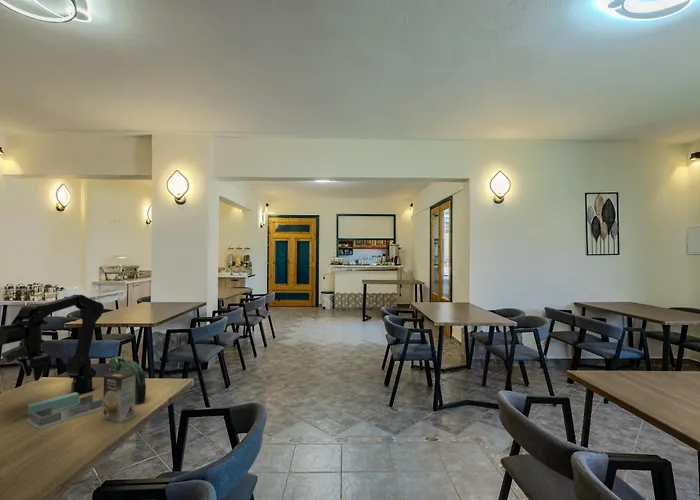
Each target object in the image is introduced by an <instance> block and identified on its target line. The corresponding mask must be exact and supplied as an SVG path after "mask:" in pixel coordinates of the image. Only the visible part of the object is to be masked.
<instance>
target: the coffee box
mask: <svg viewBox="0 0 700 500" xmlns="http://www.w3.org/2000/svg"><path fill="white" fill-rule="evenodd" d="M135 382H136V373H130V372H125V371H116V372H113V373H112V372H110V373H107V374H105V375H103V395H102V396H103V397H102V398H103V399H102V400H103V409H102V419H103V420H105V421H106V420H107V421H111V422H115V423H119V424H120V423H122V422H125V421H127V420H129V419H131V418H132V417H135V415H136V414H135V413H136V404H135Z"/></svg>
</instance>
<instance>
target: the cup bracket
mask: <svg viewBox="0 0 700 500" xmlns="http://www.w3.org/2000/svg"><path fill="white" fill-rule="evenodd" d="M93 397H94V396H93V395H92V394H90V395H88V396H84V397H81V398H80V397H79V403H78V404H74V405H71V406H67V407H64V408H60V409H57V410H53V411H52V408H51V407H49V408H46V409H43V410H39V411H36V412H32V413H30V416H29V418H27V419H26V422H27V423H28V424H30V425H31V426H32V427H35V428H36V429H37V430H43V429H47V428H49V427H52V426H55V425H58V424H60V423H65V422H67V421H70V420H72V419H77V418H79V417H82V416H85V415H88V414H91V413H94V412H98V411H99V410H103V399H102V398H100V399H98V398H93Z"/></svg>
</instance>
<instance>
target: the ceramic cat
mask: <svg viewBox="0 0 700 500" xmlns="http://www.w3.org/2000/svg"><path fill="white" fill-rule="evenodd" d="M124 353H125V354H126V355H127V356H128V355H129V354H128V352H127V350H124V351H123V352H122V354H124ZM108 371H109V372H110V373H113V372H116V371H125V372H130V373H136V382H135V405H141V404H143V403H145V401H146V391H147V385H146V378H145V377H146V376H145V372H144V370H143V368H142V367H141V365H140V364H139V363H137V362H136V361H135V360H128V359H127V357H126V356H125V355H120V356H117V355H116V354H112V357H111V358H110V360H109V361H108Z"/></svg>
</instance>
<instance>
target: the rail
mask: <svg viewBox="0 0 700 500" xmlns="http://www.w3.org/2000/svg"><path fill="white" fill-rule="evenodd" d="M79 403H80V394H78V393H77V392H74V393H72V392H70V393H68V394H63V395H59V396H56V397H53V398H52V397H51V398H48V399H44V400H40V401H36V402H33V403H29V404H28V405H27V415H28V416H29V417H30V413H32V412H36V411H39V410H43V409H46V408H49V407H51V408H52V411H56V410H59V409H62V408H66V407H69V406H72V405H76V404H79Z"/></svg>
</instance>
